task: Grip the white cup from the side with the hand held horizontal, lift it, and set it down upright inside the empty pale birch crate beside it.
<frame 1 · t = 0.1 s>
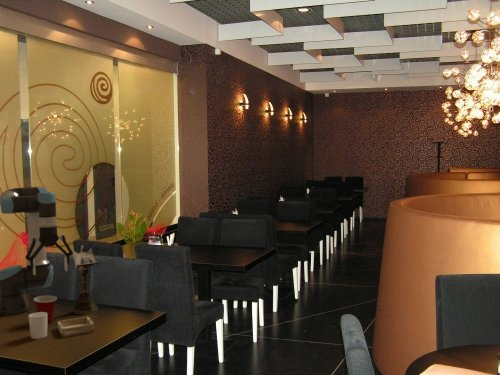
hand: (50, 272, 243), 28 cm above the table, tool pointing down, fingers open, 13 cm apart
white cup: (39, 336, 240), on the table
bird statue: (88, 312, 276), on the table
birch crate: (75, 330, 247), on the table
plastic cup: (46, 322, 261), on the table
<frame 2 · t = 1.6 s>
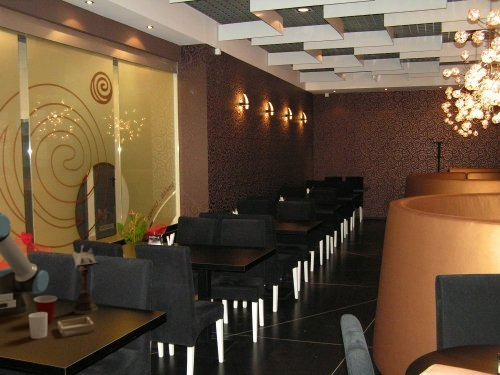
hand: (14, 299, 234), 18 cm above the table, tool horizontal, fingers open, 13 cm apart
nothing on the table moved.
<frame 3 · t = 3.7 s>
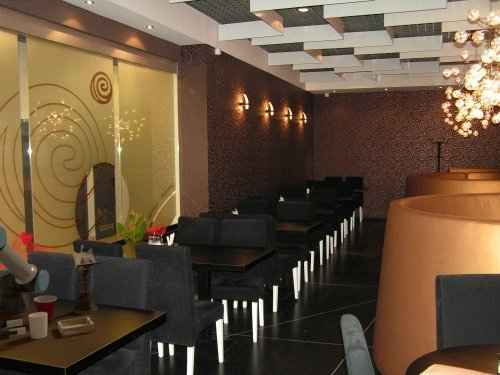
hand: (24, 326, 236), 6 cm above the table, tool horizontal, fingers open, 13 cm apart
nothing on the table moved.
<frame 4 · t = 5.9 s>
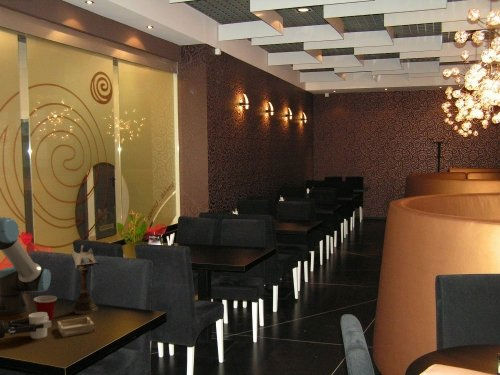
hand: (49, 321, 242), 6 cm above the table, tool horizontal, fingers closed on white cup, 8 cm apart
white cup: (39, 336, 240), on the table, touching gripper
everything else where it was.
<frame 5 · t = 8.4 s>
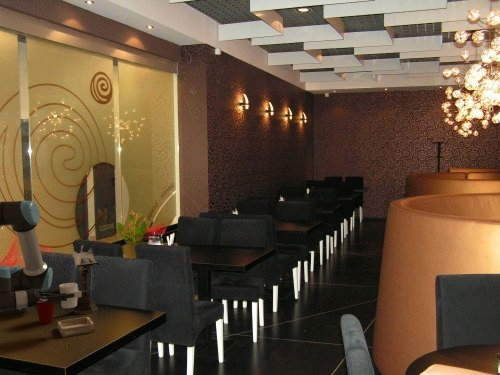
hand: (79, 291, 247), 18 cm above the table, tool horizontal, fingers closed on white cup, 8 cm apart
white cup: (69, 306, 245), point 12 cm above the table, touching gripper
everything else where it was.
when the fingers open (9 cm above the table, at t = 10.7 s): white cup drops 2 cm, resting on birch crate.
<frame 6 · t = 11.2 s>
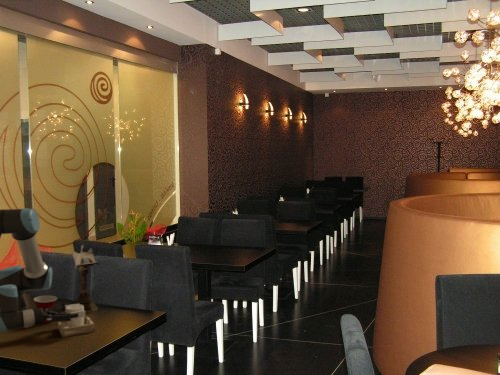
hand: (82, 309, 248), 9 cm above the table, tool horizontal, fingers open, 13 cm apart
white cup: (76, 328, 247), point 1 cm above the table, touching birch crate
everything else where it was.
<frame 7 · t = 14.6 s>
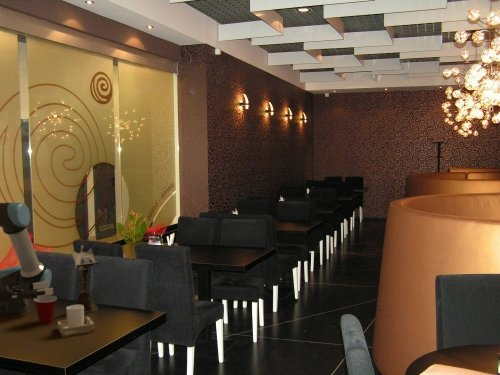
hand: (50, 287, 240), 22 cm above the table, tool horizontal, fingers open, 13 cm apart
nothing on the table moved.
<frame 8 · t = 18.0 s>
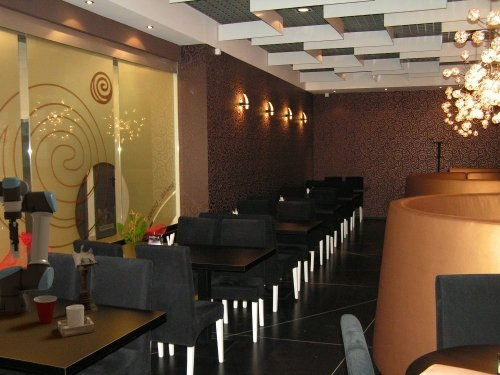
hand: (15, 256, 248), 35 cm above the table, tool pointing down, fingers open, 13 cm apart
nothing on the table moved.
at the end: white cup inside the target area on the birch crate (0.4 cm from its centre), point 0.8 cm above the birch crate's base; white cup tilted 0°; the gripper is holding nothing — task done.
